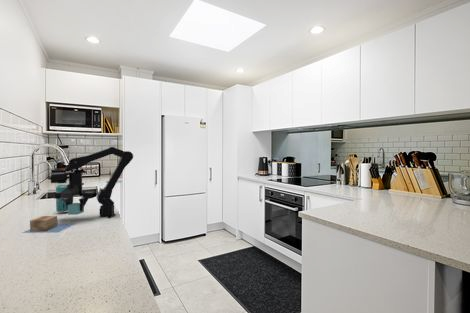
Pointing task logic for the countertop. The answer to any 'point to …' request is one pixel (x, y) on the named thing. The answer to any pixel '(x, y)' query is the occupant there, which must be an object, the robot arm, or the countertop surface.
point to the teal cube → (74, 209)
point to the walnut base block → (43, 223)
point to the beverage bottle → (60, 203)
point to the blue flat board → (53, 230)
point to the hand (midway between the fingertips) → (76, 211)
